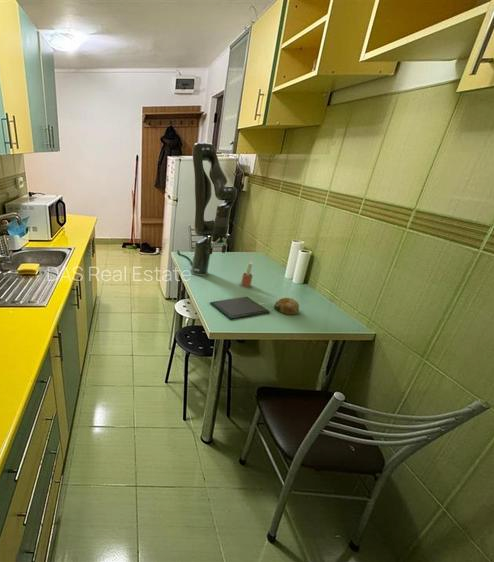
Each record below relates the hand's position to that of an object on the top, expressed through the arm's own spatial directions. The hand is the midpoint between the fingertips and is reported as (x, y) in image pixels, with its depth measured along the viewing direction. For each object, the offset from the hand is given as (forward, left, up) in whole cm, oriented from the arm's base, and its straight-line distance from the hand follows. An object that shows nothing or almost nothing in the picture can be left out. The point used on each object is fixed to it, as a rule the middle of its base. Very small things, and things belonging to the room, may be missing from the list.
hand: (216, 253), depth 169 cm
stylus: (+11, +15, -17) cm, 25 cm away
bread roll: (+40, +15, -17) cm, 46 cm away
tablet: (+32, -6, -17) cm, 37 cm away
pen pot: (+11, +15, -17) cm, 25 cm away
